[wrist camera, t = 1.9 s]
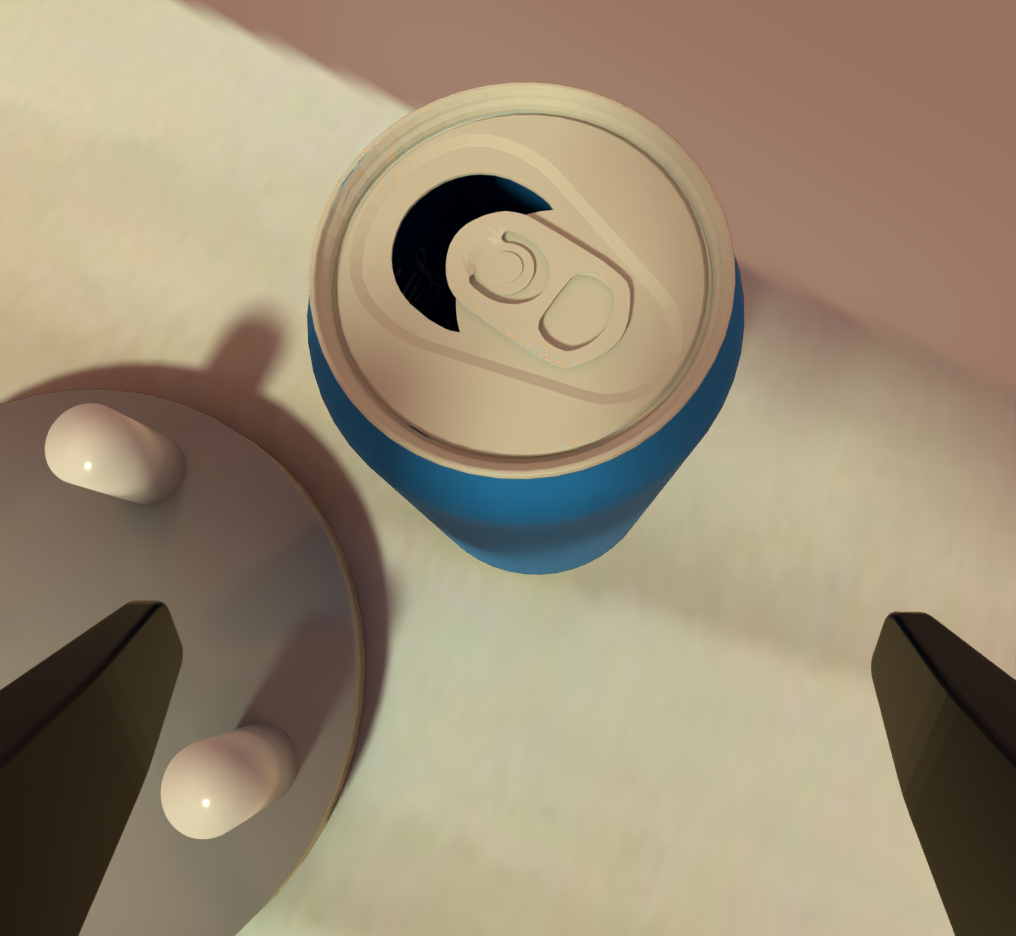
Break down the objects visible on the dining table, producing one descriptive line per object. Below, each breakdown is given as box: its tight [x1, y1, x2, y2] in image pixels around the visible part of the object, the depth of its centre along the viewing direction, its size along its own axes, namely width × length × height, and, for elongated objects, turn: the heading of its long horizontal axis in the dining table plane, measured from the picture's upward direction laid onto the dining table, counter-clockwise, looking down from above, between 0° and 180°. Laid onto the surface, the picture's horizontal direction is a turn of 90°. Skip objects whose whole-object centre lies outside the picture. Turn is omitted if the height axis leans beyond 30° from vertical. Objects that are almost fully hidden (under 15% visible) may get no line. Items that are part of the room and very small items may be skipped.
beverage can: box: [307, 82, 744, 575], centre depth 16 cm, size 6×6×12 cm
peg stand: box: [0, 389, 366, 936], centre depth 19 cm, size 16×16×4 cm
